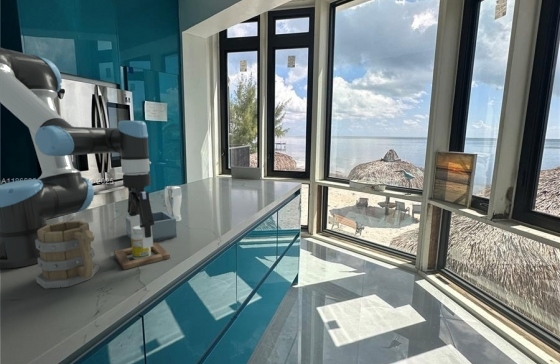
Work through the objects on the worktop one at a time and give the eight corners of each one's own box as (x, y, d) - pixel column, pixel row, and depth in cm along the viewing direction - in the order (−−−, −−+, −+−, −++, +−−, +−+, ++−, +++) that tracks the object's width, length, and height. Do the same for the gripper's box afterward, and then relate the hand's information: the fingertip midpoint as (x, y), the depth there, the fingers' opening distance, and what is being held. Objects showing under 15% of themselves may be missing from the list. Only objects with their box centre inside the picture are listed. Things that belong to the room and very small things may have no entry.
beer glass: (179, 222, 127) (177, 188, 125) (163, 222, 127) (161, 188, 125) (184, 218, 134) (183, 185, 132) (169, 217, 134) (168, 185, 132)
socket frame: (123, 269, 83) (123, 265, 83) (114, 254, 93) (114, 251, 92) (169, 258, 91) (169, 254, 91) (156, 245, 101) (156, 242, 101)
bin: (136, 245, 101) (134, 225, 100) (126, 234, 111) (125, 216, 110) (176, 236, 110) (175, 218, 108) (164, 227, 120) (163, 210, 119)
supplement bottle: (145, 260, 89) (143, 230, 87) (128, 259, 89) (126, 229, 88) (154, 253, 94) (152, 224, 93) (138, 252, 95) (136, 224, 93)
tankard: (31, 279, 77) (24, 224, 74) (84, 262, 87) (79, 213, 85) (63, 303, 66) (56, 240, 64) (120, 281, 76) (115, 226, 74)
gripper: (162, 176, 80) (167, 249, 84) (138, 168, 99) (143, 228, 103) (133, 179, 76) (139, 256, 79) (114, 170, 95) (119, 233, 98)
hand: (141, 241), depth 91 cm, fingers open, 13 cm apart
